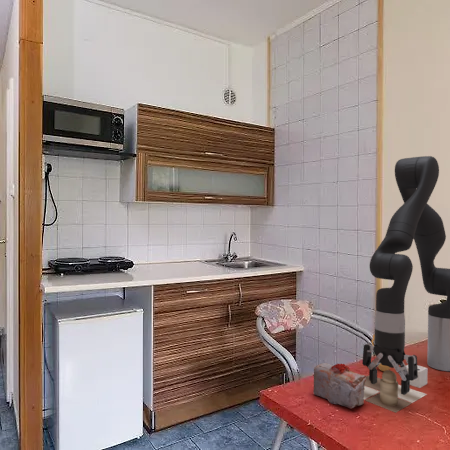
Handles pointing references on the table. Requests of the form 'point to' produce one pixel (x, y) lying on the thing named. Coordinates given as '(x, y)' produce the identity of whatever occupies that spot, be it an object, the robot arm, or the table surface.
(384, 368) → the figurine
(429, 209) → the robot arm
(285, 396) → the table surface
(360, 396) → the food item
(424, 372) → the die
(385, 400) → the pawn
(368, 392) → the game mat
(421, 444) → the table surface
